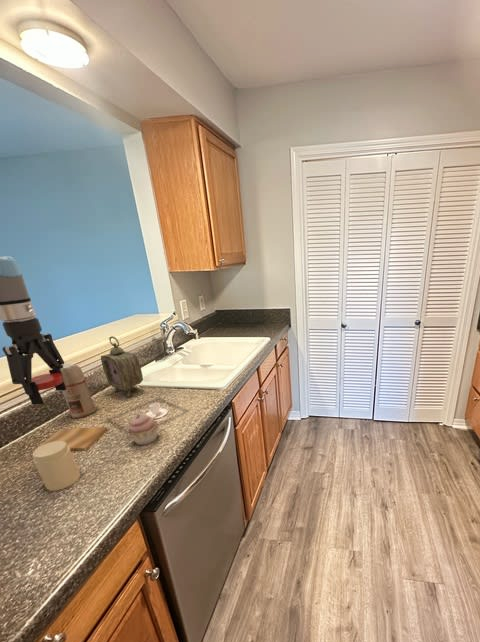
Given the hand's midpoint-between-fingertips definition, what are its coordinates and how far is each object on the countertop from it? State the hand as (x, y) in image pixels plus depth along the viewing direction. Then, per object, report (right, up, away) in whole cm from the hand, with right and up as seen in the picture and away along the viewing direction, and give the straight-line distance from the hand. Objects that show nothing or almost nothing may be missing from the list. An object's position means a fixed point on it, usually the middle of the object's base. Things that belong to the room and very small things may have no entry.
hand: (50, 396), depth 94 cm
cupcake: (+23, -15, +10) cm, 29 cm away
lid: (0, +5, -2) cm, 5 cm away
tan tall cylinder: (-10, -8, +30) cm, 33 cm away
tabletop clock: (-1, 0, +47) cm, 47 cm away
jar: (+9, -23, -7) cm, 25 cm away
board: (-2, -15, +12) cm, 19 cm away
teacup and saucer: (+17, -9, +25) cm, 31 cm away
